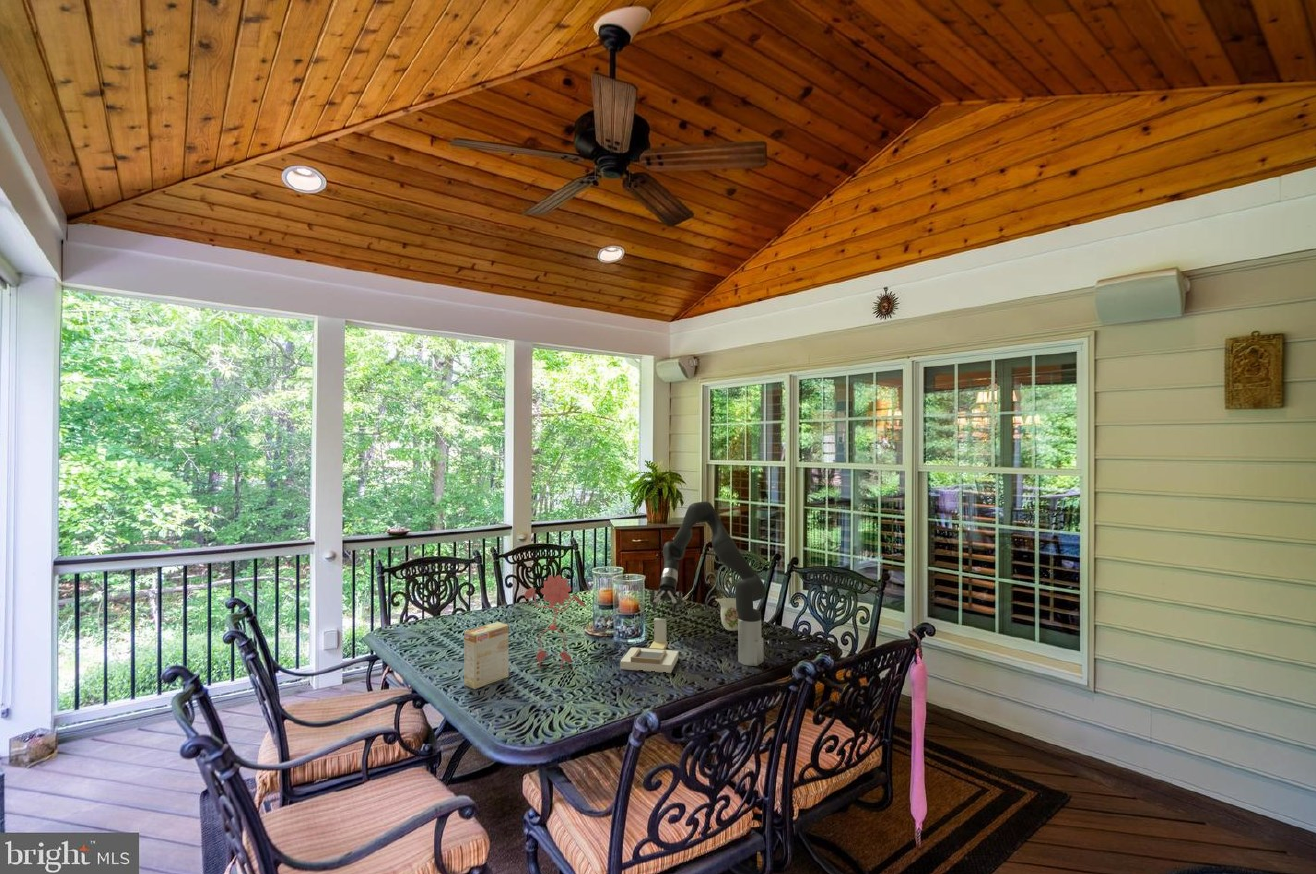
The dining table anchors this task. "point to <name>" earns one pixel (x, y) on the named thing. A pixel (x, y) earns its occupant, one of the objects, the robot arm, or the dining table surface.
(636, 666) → the dock
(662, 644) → the beige l-shaped block
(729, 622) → the pitcher
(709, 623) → the dining table surface
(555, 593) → the red stick figure
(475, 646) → the coffeecake box
